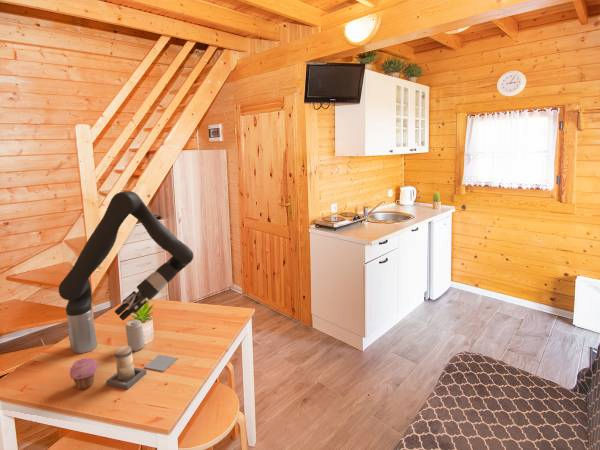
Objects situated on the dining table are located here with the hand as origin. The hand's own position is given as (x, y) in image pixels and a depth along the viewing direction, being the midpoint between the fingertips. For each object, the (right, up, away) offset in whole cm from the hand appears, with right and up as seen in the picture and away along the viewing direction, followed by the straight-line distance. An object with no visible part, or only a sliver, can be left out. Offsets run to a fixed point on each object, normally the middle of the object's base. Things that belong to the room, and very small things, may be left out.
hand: (118, 316), depth 139 cm
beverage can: (-2, -19, +20) cm, 27 cm away
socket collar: (+4, -23, -2) cm, 24 cm away
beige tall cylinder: (+4, -23, -2) cm, 24 cm away
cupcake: (-10, -24, -5) cm, 27 cm away
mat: (+13, -21, +8) cm, 26 cm away
